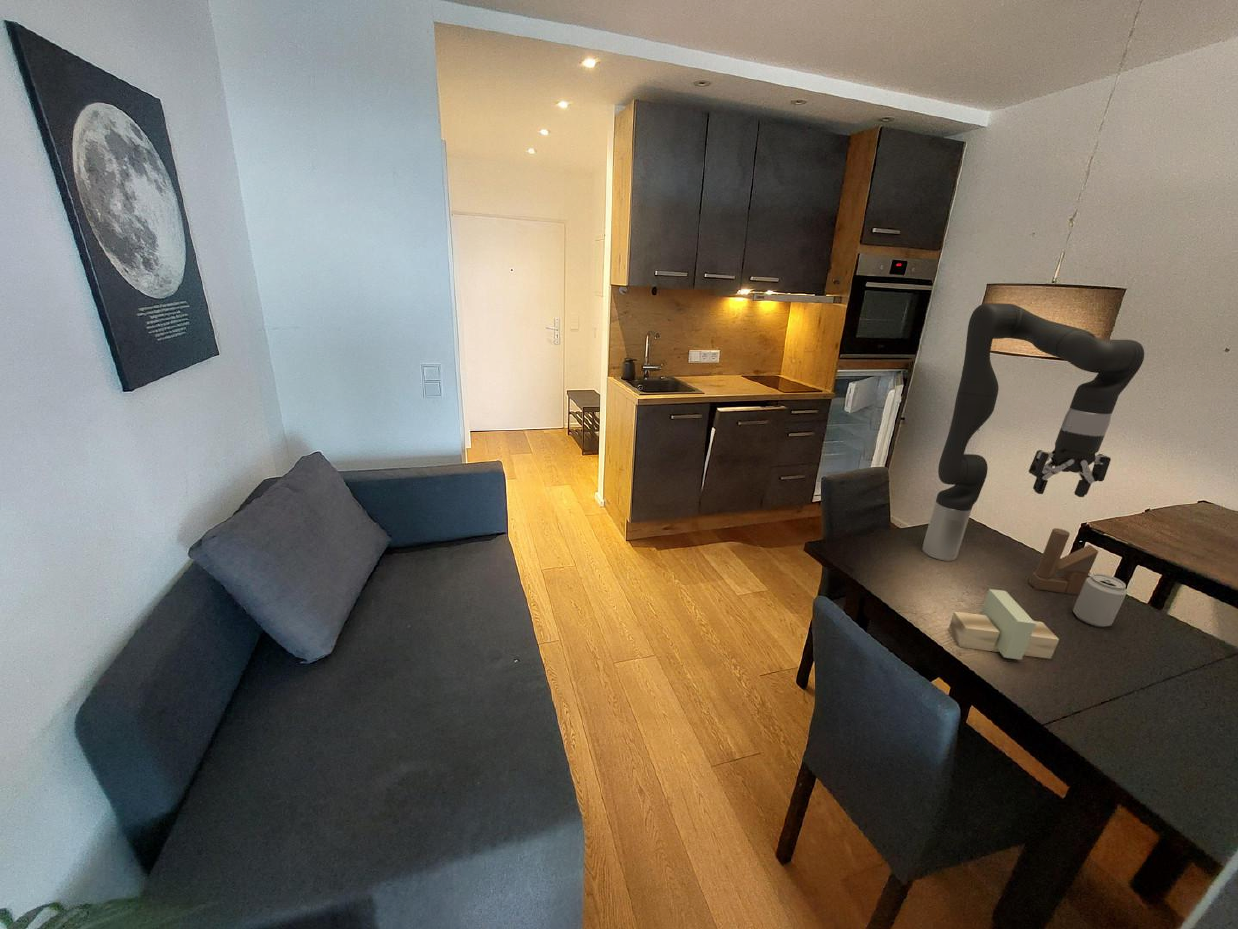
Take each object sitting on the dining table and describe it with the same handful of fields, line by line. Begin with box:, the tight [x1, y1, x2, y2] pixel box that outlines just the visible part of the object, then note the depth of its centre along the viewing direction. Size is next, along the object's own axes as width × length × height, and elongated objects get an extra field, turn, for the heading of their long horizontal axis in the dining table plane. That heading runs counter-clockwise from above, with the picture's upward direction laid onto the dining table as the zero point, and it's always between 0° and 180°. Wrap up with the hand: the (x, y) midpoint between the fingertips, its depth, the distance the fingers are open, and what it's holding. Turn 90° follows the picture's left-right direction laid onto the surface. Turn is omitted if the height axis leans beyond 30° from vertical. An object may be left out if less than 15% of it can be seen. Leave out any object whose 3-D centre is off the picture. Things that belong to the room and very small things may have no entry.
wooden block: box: [1028, 528, 1099, 596], centre depth 131 cm, size 4×11×18 cm, turn 77°
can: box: [1072, 572, 1128, 628], centre depth 120 cm, size 8×8×12 cm
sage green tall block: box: [979, 588, 1036, 661], centre depth 111 cm, size 12×4×10 cm, turn 169°
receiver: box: [947, 611, 1060, 659], centre depth 113 cm, size 6×19×6 cm, turn 80°
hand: (1058, 494), depth 114 cm, fingers open, 8 cm apart
